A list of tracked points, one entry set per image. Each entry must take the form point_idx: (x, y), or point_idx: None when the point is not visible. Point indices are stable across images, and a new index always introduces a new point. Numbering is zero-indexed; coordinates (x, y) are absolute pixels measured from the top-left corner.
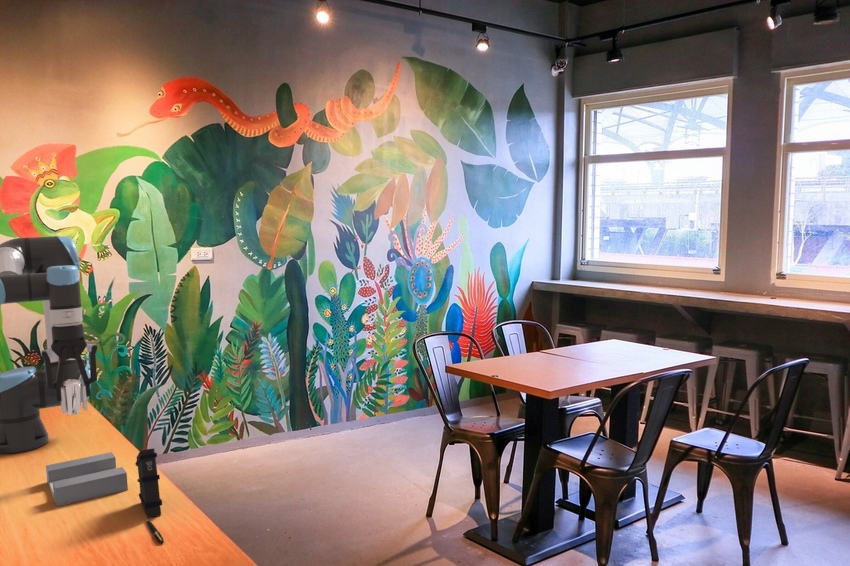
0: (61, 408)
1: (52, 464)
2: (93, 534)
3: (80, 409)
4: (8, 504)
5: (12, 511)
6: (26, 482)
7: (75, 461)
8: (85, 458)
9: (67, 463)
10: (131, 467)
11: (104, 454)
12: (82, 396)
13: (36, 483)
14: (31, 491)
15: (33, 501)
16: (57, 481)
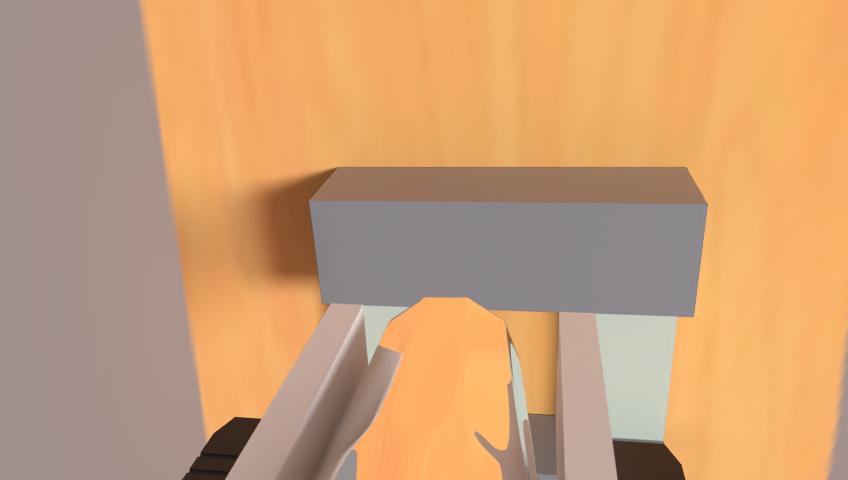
0: (319, 325)
1: (344, 207)
2: None
3: (521, 376)
4: (195, 335)
5: (219, 412)
6: (239, 98)
7: (469, 240)
8: (531, 222)
9: (424, 244)
10: (778, 226)
11: (653, 222)
12: (560, 471)
13: (288, 149)
14: (271, 247)
15: (286, 367)
16: None
